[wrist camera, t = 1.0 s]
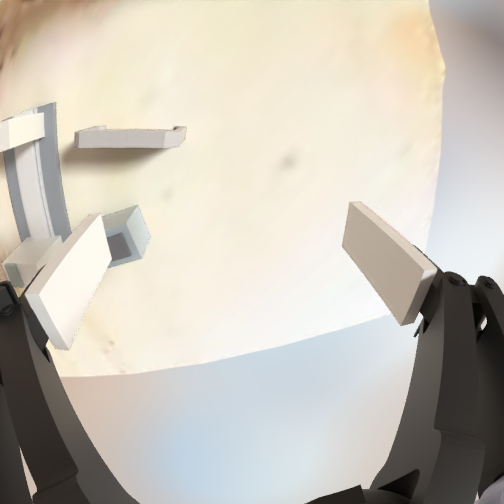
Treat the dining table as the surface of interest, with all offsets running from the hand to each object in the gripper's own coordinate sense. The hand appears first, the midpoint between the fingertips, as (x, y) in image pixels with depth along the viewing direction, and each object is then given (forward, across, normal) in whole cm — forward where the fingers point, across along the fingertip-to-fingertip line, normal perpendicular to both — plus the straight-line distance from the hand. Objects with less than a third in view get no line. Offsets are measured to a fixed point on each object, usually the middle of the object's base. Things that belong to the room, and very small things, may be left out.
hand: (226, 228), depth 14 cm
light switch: (+22, -10, +4) cm, 24 cm away
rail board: (+22, -28, -1) cm, 35 cm away
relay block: (+22, -14, -9) cm, 27 cm away
